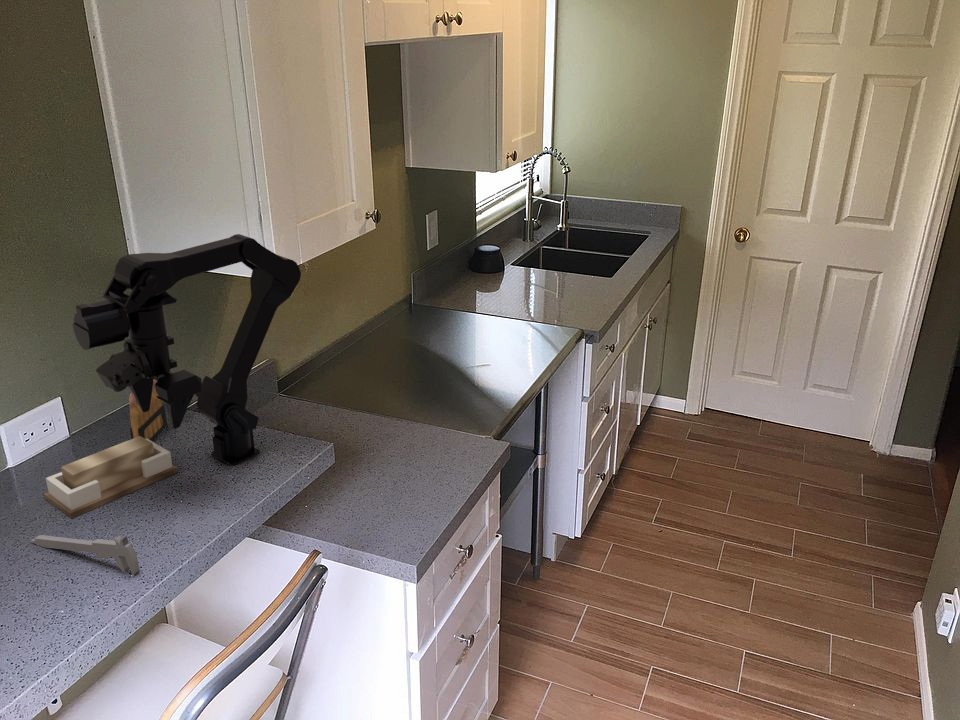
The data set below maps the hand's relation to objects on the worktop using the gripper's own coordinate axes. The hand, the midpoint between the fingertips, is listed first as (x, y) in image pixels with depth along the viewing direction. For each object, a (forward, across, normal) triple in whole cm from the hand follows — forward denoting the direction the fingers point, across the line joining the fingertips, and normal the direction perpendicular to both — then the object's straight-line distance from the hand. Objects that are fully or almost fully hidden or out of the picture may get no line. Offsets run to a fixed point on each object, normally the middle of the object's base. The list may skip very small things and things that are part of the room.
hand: (160, 419), depth 132 cm
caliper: (+12, +10, -20) cm, 26 cm away
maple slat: (+11, -6, -7) cm, 14 cm away
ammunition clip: (+12, -16, +6) cm, 21 cm away
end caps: (+12, -6, -7) cm, 15 cm away
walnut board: (+12, -6, -7) cm, 15 cm away
